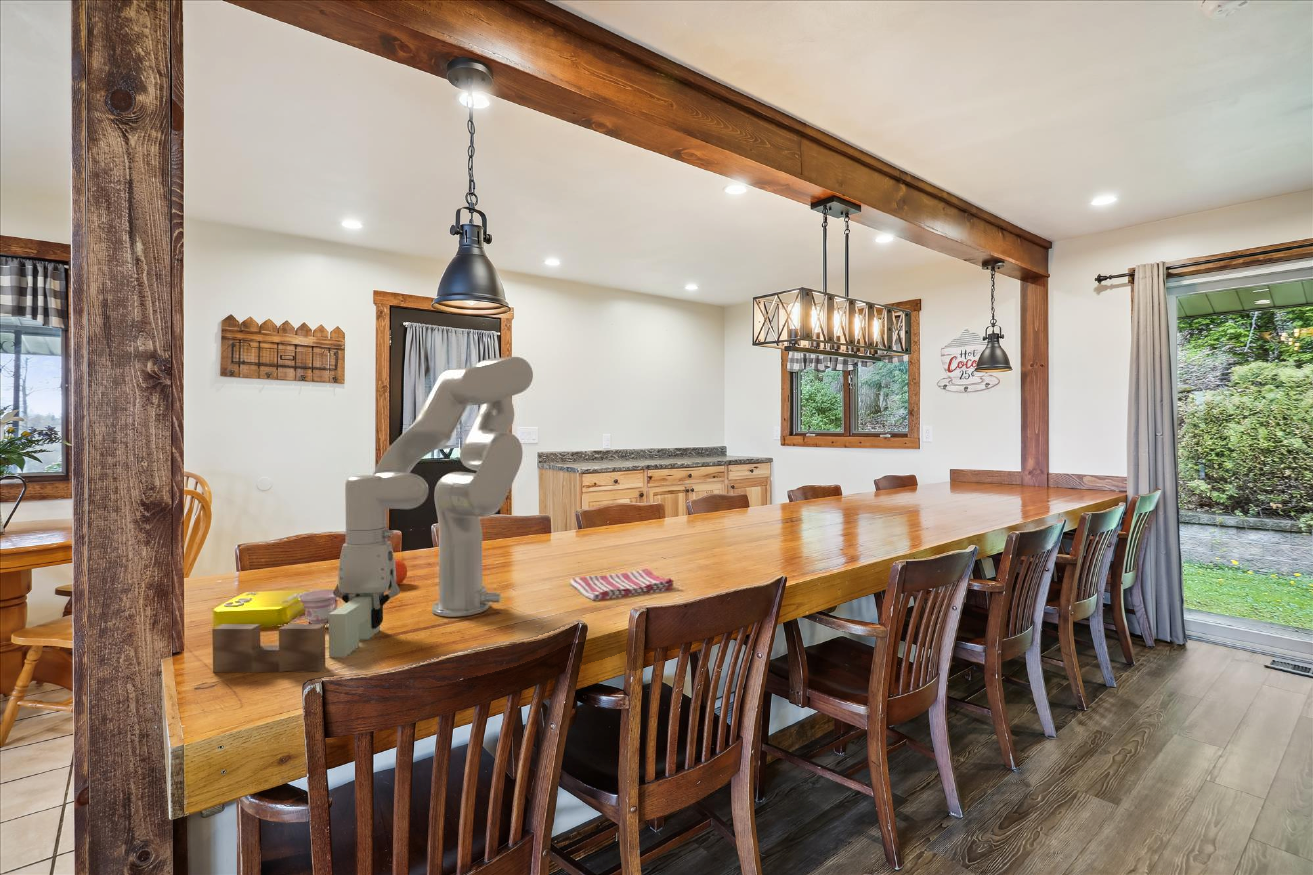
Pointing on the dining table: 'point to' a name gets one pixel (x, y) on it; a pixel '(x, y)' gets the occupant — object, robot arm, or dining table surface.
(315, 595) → the teacup
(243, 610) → the element tile
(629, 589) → the dish towel
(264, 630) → the dining table surface
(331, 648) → the sage cross-piece
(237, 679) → the dining table surface
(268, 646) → the walnut upright plate
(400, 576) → the clementine
